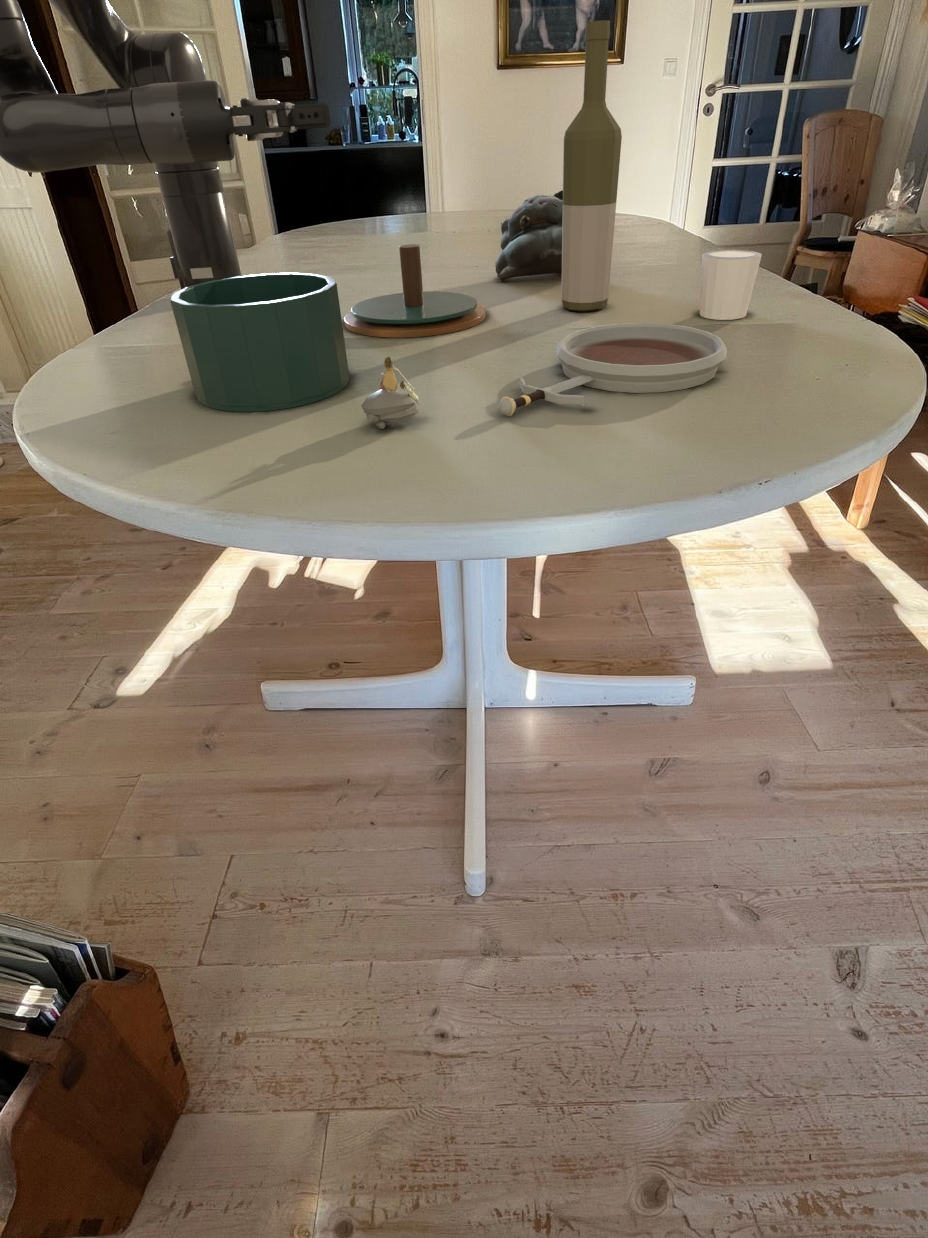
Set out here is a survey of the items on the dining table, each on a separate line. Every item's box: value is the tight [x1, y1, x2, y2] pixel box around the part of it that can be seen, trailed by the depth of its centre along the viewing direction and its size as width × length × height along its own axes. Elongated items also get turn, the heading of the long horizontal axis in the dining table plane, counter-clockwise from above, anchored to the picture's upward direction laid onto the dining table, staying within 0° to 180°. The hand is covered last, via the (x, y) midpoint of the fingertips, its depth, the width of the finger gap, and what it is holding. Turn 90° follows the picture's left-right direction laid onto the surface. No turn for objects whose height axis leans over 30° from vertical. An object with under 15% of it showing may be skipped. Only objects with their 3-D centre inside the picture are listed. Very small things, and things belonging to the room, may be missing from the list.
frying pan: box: [498, 322, 729, 417], centre depth 70 cm, size 17×3×28 cm
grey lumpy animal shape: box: [494, 189, 563, 282], centre depth 113 cm, size 15×12×14 cm
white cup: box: [699, 249, 763, 321], centre depth 88 cm, size 7×7×7 cm
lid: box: [350, 243, 478, 325], centre depth 93 cm, size 17×17×8 cm
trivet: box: [343, 302, 487, 339], centre depth 96 cm, size 19×19×1 cm
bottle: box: [561, 20, 623, 312], centre depth 88 cm, size 7×7×30 cm
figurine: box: [360, 356, 422, 430], centre depth 62 cm, size 5×4×6 cm
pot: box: [170, 272, 350, 413], centre depth 72 cm, size 16×16×10 cm
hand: (328, 114), depth 82 cm, fingers open, 8 cm apart
